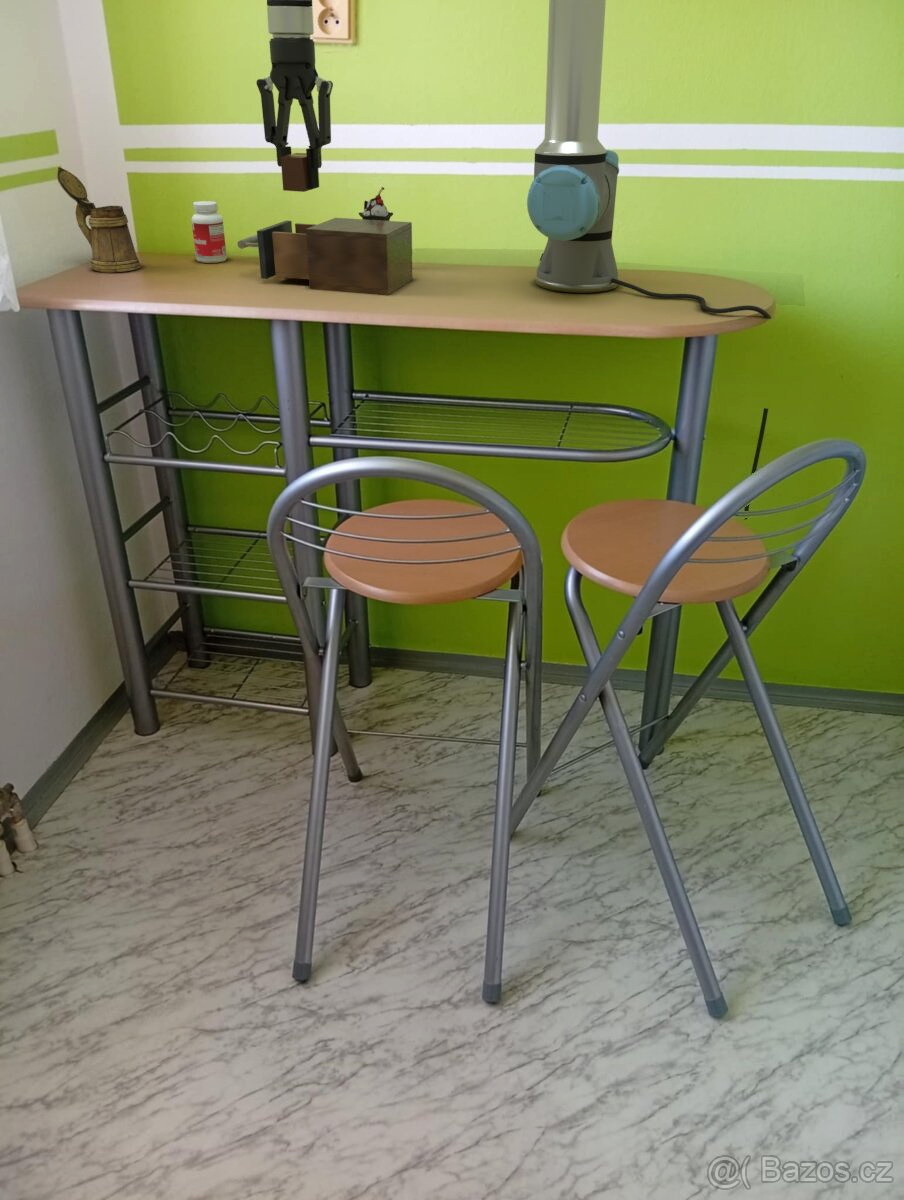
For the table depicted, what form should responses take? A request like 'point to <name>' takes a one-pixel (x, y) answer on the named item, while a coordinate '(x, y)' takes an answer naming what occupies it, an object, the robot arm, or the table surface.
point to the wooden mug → (102, 229)
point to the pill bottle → (208, 233)
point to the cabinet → (359, 255)
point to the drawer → (281, 250)
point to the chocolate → (295, 172)
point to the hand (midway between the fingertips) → (300, 187)
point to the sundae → (375, 209)
